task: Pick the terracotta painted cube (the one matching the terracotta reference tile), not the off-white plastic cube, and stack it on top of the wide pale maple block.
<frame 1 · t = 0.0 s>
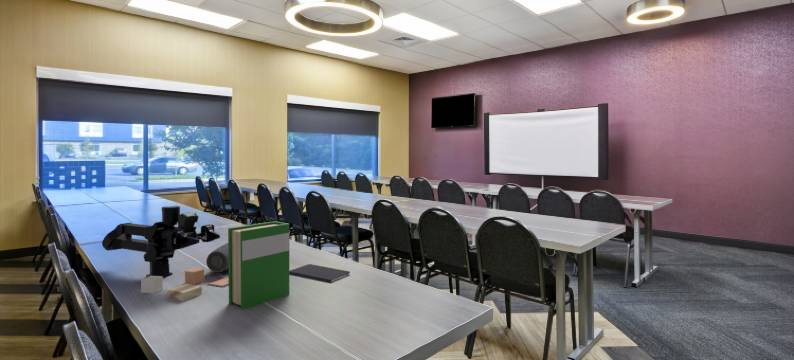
hand: (209, 238, 148), 17 cm above the table, tool horizontal, fingers open, 9 cm apart
hardback book: (260, 299, 136), on the table
maple base block: (185, 296, 138), on the table
bluetooth speaker: (229, 267, 172), on the table
terracotta cube: (194, 282, 152), on the table
offwhite cube: (152, 291, 142), on the table
notebook: (319, 275, 165), on the table
reference tile: (222, 283, 151), on the table
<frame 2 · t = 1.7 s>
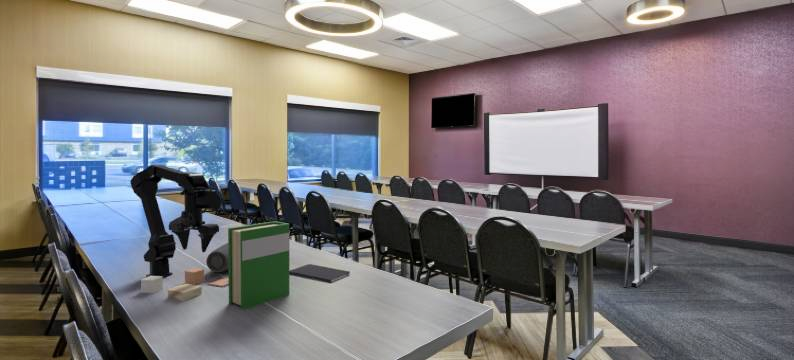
hand: (194, 250, 152), 11 cm above the table, tool pointing down, fingers open, 9 cm apart
nothing on the table moved.
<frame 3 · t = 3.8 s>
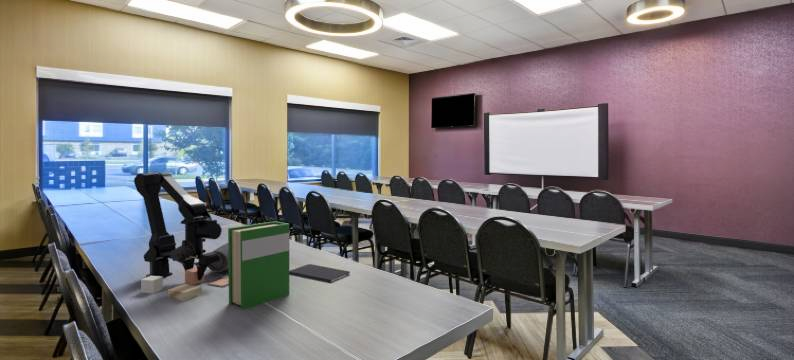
hand: (194, 279, 152), 1 cm above the table, tool pointing down, fingers closed on terracotta cube, 4 cm apart
terracotta cube: (194, 281, 152), on the table, touching gripper
everything else where it was.
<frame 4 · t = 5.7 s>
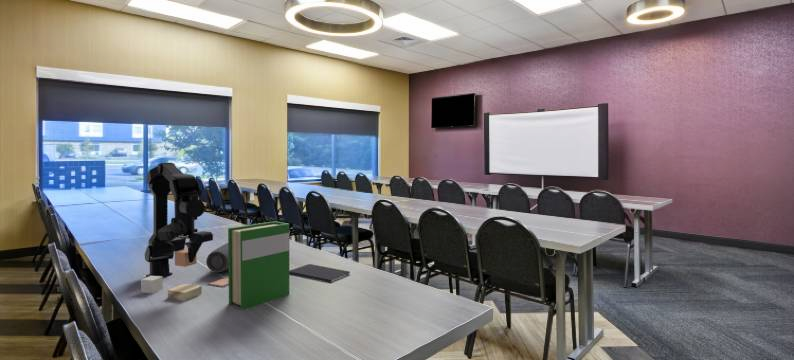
hand: (185, 261, 137), 11 cm above the table, tool pointing down, fingers closed on terracotta cube, 4 cm apart
terracotta cube: (185, 264, 138), point 10 cm above the table, touching gripper
everything else where it was.
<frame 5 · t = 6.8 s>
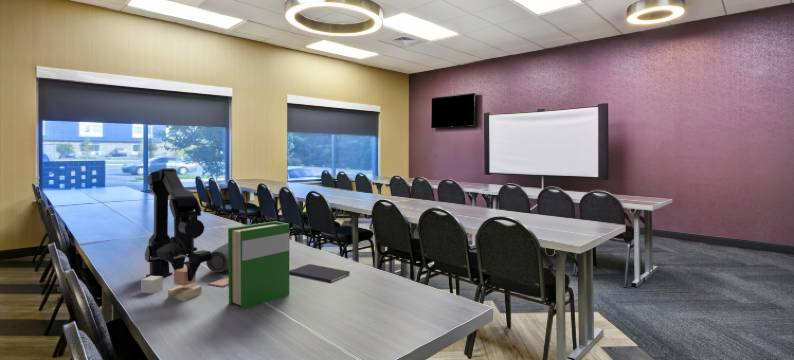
hand: (184, 280, 138), 5 cm above the table, tool pointing down, fingers closed on terracotta cube, 4 cm apart
terracotta cube: (184, 283, 138), point 4 cm above the table, touching gripper
everything else where it was.
when the fingers open (5 cm above the table, at t = 7.6 s): terracotta cube drops 1 cm, resting on maple base block.
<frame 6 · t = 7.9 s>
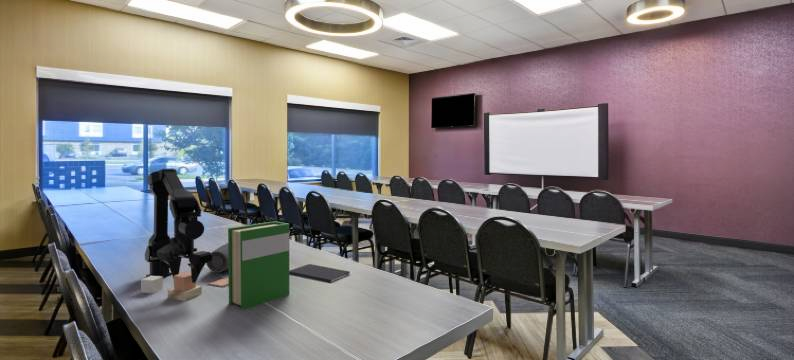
hand: (184, 280, 138), 5 cm above the table, tool pointing down, fingers open, 8 cm apart
maple base block: (185, 297, 138), on the table, touching terracotta cube
terracotta cube: (184, 288, 138), point 3 cm above the table, touching maple base block
everything else where it was.
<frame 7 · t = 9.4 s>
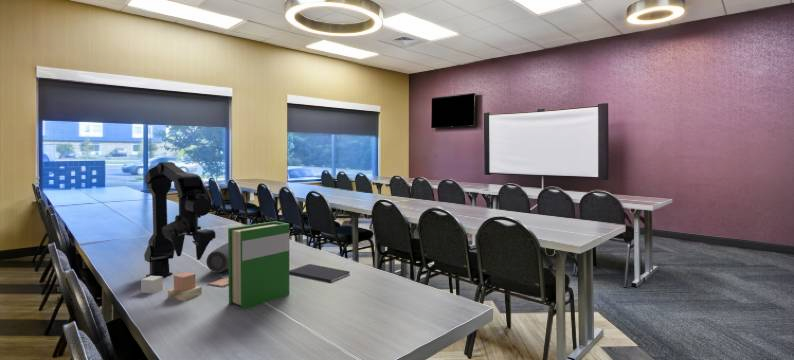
hand: (188, 257, 141), 12 cm above the table, tool pointing down, fingers open, 9 cm apart
nothing on the table moved.
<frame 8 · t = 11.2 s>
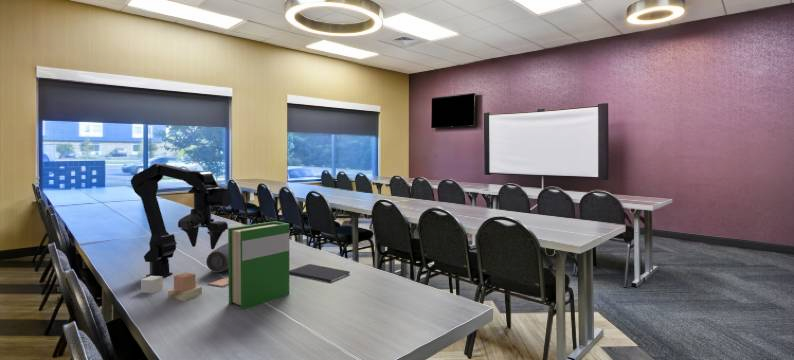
hand: (203, 247, 154), 12 cm above the table, tool pointing down, fingers open, 9 cm apart
nothing on the table moved.
at the end: terracotta cube 0.1 cm off-centre on the maple base block, point 3.0 cm above the maple base block's base; terracotta cube tilted 0°; the gripper is holding nothing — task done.
